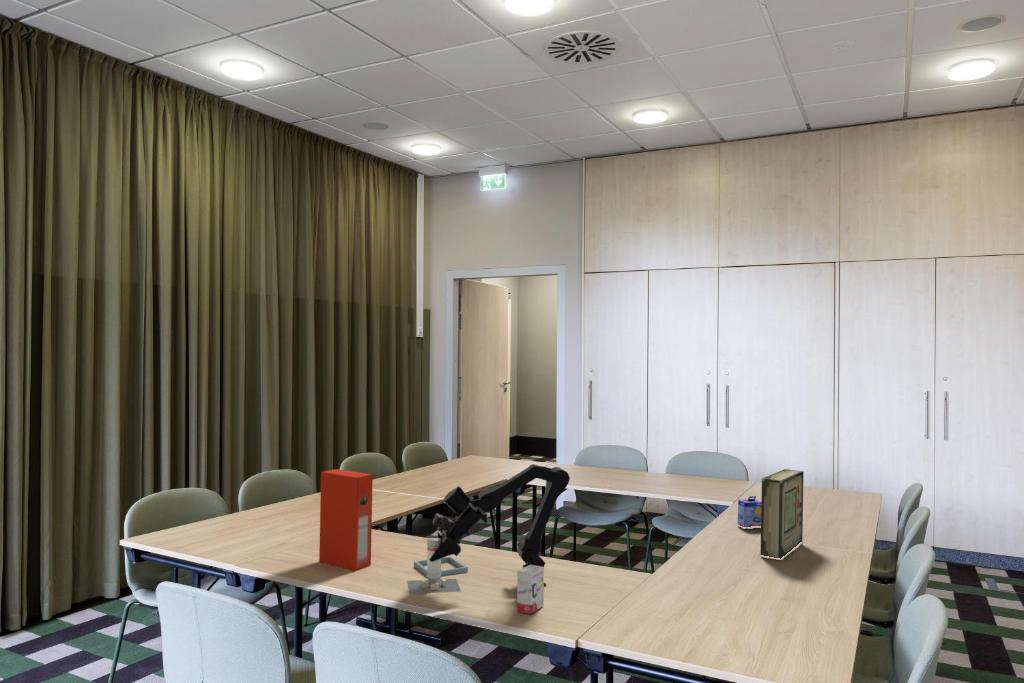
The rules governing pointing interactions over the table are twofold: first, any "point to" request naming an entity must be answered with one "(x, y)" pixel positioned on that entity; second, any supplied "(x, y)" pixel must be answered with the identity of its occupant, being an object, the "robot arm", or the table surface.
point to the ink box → (530, 589)
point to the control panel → (781, 512)
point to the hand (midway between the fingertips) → (429, 558)
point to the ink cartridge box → (749, 512)
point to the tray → (449, 559)
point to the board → (433, 586)
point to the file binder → (346, 519)
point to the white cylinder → (434, 566)
